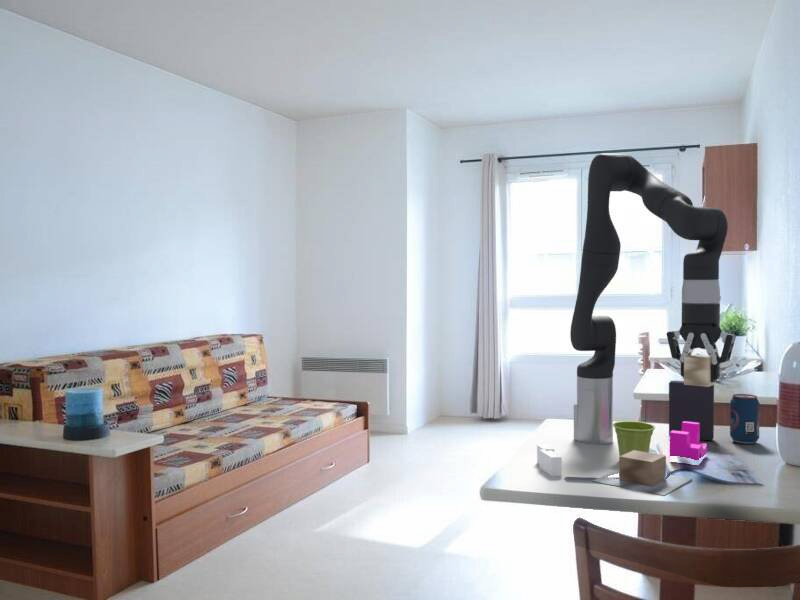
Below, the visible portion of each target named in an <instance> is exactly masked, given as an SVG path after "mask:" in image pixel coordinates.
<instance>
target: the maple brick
mask: <svg viewBox="0 0 800 600" xmlns="http://www.w3.org/2000/svg"><path fill="white" fill-rule="evenodd" d="M711 365H712V363H711V358H710V357H709V355H708V354H707V355H704V354H703V355H702V354H691V355H688V356H685V357H684V379H683V381H684V385H693V386H704V387H709V386H712V385H714V386H715V385H716V384H717V381H716V382H711Z"/></svg>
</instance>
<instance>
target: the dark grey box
mask: <svg viewBox="0 0 800 600" xmlns="http://www.w3.org/2000/svg"><path fill="white" fill-rule="evenodd" d="M714 418H715V385H712V386H709V387H704V386H693V385H684V380H670V381H669V382H668V437H670V432H671V431H672V430H675V431H681V429H682V422H683V421H687V422H697V423H700V440H703V441H713V440H714V438H715V437H714V436H715V431H714V430H715V429H714V427H715V425H714V423H715V419H714Z"/></svg>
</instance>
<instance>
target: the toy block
mask: <svg viewBox="0 0 800 600" xmlns="http://www.w3.org/2000/svg"><path fill="white" fill-rule="evenodd" d="M706 453H707V454H708V444H707V443H705V442H704V443H703V442H700V423H697V422H687V421H683V422H682V429H681V431H675V430H672V431H671V432H670V436H669V457H670V456H680V457H686V458H691V459H694V460H699V458H701V457H703V456H704V455H705V454H706Z"/></svg>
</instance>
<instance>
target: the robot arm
mask: <svg viewBox="0 0 800 600" xmlns="http://www.w3.org/2000/svg"><path fill="white" fill-rule="evenodd" d="M587 177H588V178H587V209H586V210H587V211H586V222H585V223H586V224H585V231H584V239H583V245H582V253H581V259H580V260H581V263H580V274H579V281H578V290H577V295H576V300H575V305H574V308H573V309H574V310H573V314H572V319H571V324H570V330H569V331H570V334H569V335H570V336H569V337H570V342H571V346H572V348H574V349H573V350H575V351H580V352H594V353H593V356H592V357H590V358H589V359H588V360H586V361H584V362H582V363H579V364H578V365H577V367H576V403H574V404H573V441H577V442H580V443H584V444H587V445H588V444H589V445H609V444H611V443H613V439H614V438H613V437H614V436H613V435H614V429H613V428H614V426H613V424H614V411H613V410H614V385H613V384H614V369H615V364H616V346H617V329H616V328H617V327H616V324H615V321H614V320H613V318H611V317H610V316H608V315H593V312H594V309H595V307H596V304H597V301H598V299H599V297H600V296H601V295H602V293H603V292H604V290H605V289H606V288H607V286H609V284H610V283H611V281H612V280H613V279H614V277H615V275H616V274H617V271H618V269H619V262H620V256H621V240H620V237H619V234H618V232H617V229H616V227H615V225H614V223H613V221H612V218H611V214H610V197H611V192H624V191H626V192H629V193H633V194H636V195H638V196H640V197H641V200H642V203H643V205H644V207H645V208H646V209H647V210H648V211H649V212H650V213H651V214H653V215H655V216H656V217H658V218H659V219H661V221H664V222H666V223H667V225H668V226H669V227H670V229H671V230H672V231H673V233H675V234H676V235H677V236H678V237H680V238H682V239H684V240H688V241H698V244H697V247H696V250H694V251H691V252H688V253H686V254H685V255H684V257H683V260H682V261H683V263H682V264H683V268H682V269H683V271H682V274H683V275H682V277H683V278H682V279H683V280H682V286H681V325H680V328H679V330H670V331H667V332H666V337H667V343H668V346H669V352H670V355H671V358H672V359H674V360H678V361H679V363H680V377H682V379H683V380H684V357H685V356H688V355H693V354H692V353H693V352H694V350H695V349H701V350H705V351H706V353H707V356H709V357H710V358H711V363H712V365H711V382H716V383H717V381H718V380H720V377H721V375H720V374H721V373H720V372H721V364H723V363H726V362H729V361H730V360H731V356H732V353H733V347H734V346H735V345H734V344H735V341H736V338H737V337H736V334H734V333H728V332H724V331H723V330H722V329H721V324H720V323H721V321H720V319H721V288H720V287H721V286H720V280H719V279H720V259H721V255H722V253H723V248H724V245H725V242H726V239H727V233H728V230H729V229H728V227H729V226H728V220H727V219H728V218H727V216H726V214H725V213H724V212H723V210H721V209H720V208H717V207H709V206H708V207H707V206H705V207H704V206H703V207H702V206H694V205H693V202H692V199H690V197H689V196H687V195H686V194H685V193H682V192H681V191H679V190H677V189H675V188H674V187H671V186H670V185H669V184H667V183H665V182H664V181H661V179H659V178H658V177H657V176H655V175H654V174H653V173H652V172H651V171H649V170H648V169H647V168H646V167H645V166H644V165H643V164H642V163H640V161H639V160H637V159H636V158H635V157H634V156H632V155H629V154H626V153H598V154H597V155H595V156H594V157H593V159H592V160H591V162H590V166H589V170H588V176H587ZM680 337H682V339H683V340H684V342H685V343H684V346H683V348H682V353H681V348H680V344H679V340H680ZM720 338H721V342H722V343H723V348H722V351H721V354H719V350H718V347H717V344H716V343H717V342H718V340H720Z"/></svg>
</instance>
